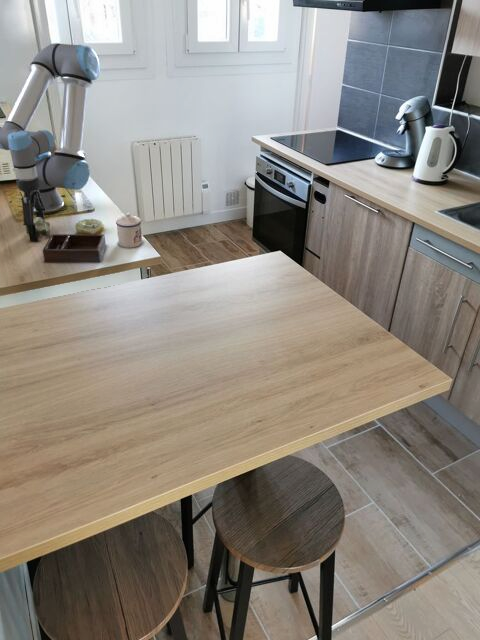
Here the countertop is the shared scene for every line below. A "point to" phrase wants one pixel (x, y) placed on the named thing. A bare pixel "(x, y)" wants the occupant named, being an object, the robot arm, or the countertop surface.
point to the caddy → (74, 248)
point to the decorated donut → (89, 227)
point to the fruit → (41, 227)
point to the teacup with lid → (129, 231)
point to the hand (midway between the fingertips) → (38, 233)
